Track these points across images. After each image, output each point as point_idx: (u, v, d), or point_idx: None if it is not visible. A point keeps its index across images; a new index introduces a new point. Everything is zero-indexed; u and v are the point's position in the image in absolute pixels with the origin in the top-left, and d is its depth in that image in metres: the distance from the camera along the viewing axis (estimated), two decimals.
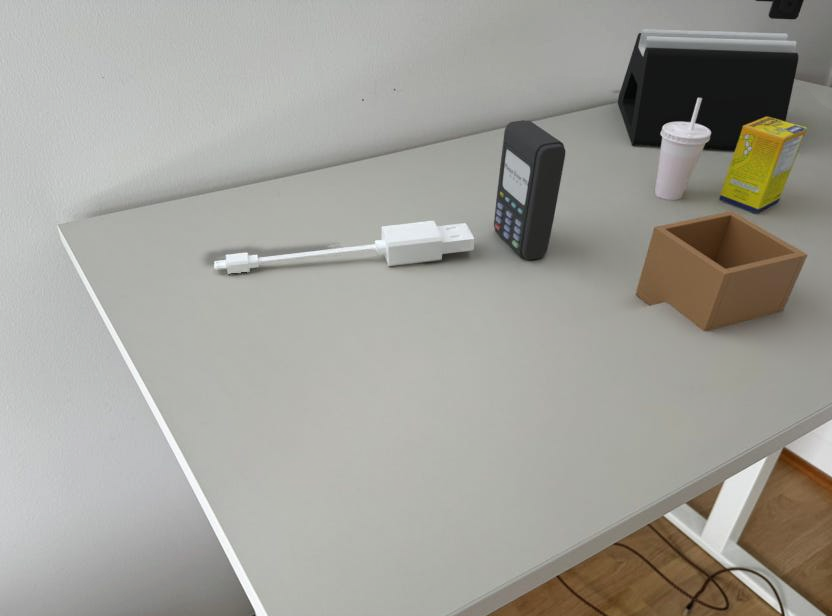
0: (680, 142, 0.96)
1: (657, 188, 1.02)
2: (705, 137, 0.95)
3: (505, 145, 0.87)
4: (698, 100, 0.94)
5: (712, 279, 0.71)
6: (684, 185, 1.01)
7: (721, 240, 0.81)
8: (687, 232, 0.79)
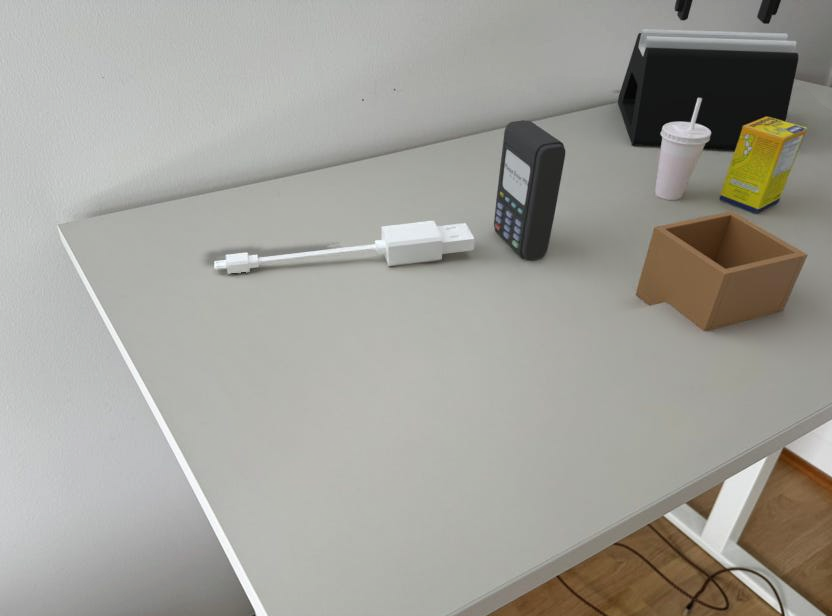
0: (680, 142, 0.96)
1: (657, 188, 1.02)
2: (705, 137, 0.95)
3: (505, 145, 0.87)
4: (698, 100, 0.94)
5: (712, 279, 0.71)
6: (684, 185, 1.01)
7: (721, 240, 0.81)
8: (687, 232, 0.79)
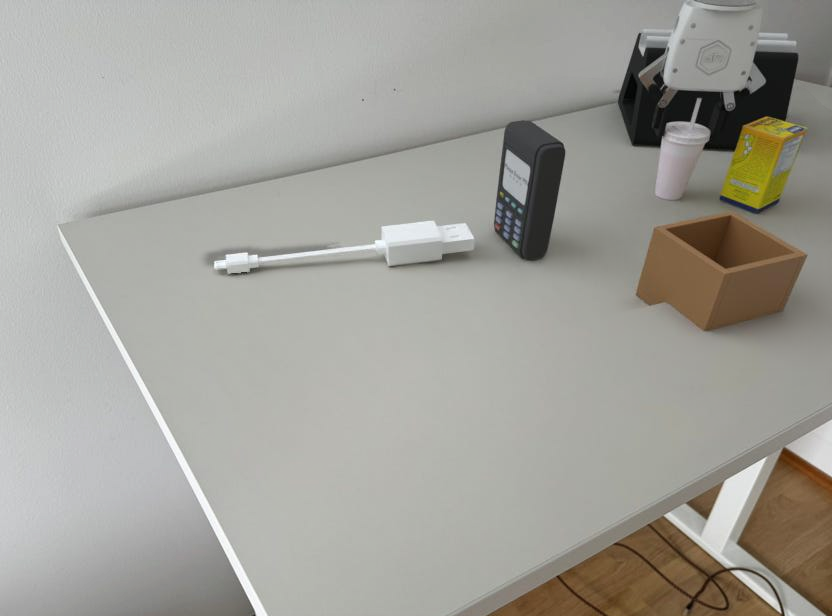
0: (680, 142, 0.96)
1: (657, 188, 1.02)
2: (705, 137, 0.95)
3: (505, 145, 0.87)
4: (698, 100, 0.94)
5: (712, 279, 0.71)
6: (684, 185, 1.01)
7: (721, 240, 0.81)
8: (687, 232, 0.79)
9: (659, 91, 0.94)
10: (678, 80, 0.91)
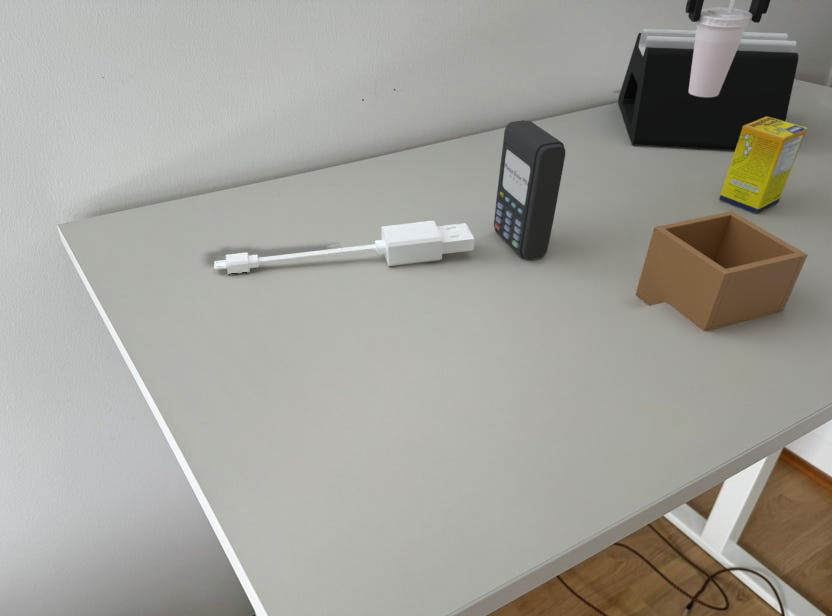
0: (718, 26, 0.86)
1: (691, 85, 0.93)
2: (746, 19, 0.85)
3: (505, 145, 0.87)
4: None
5: (712, 279, 0.71)
6: (722, 79, 0.91)
7: (721, 240, 0.81)
8: (687, 232, 0.79)
9: None
10: None
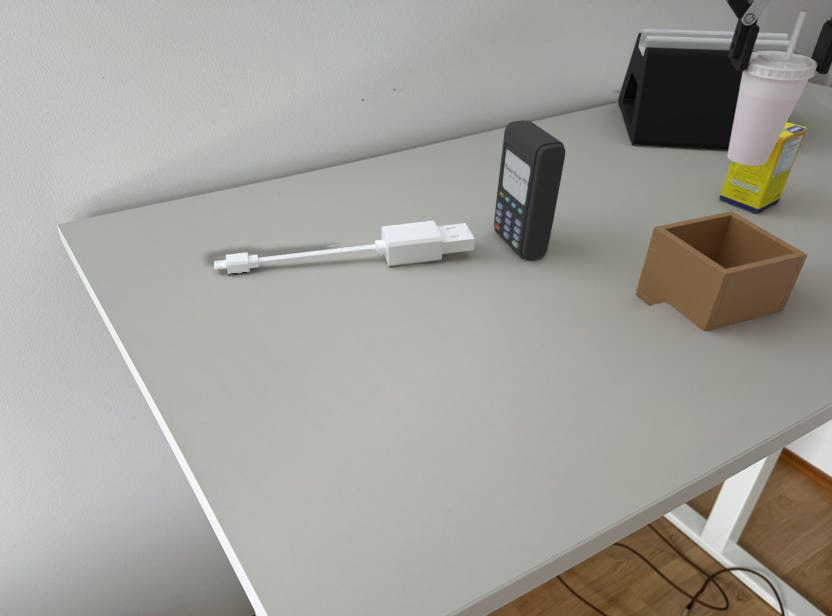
0: (773, 78, 0.65)
1: (732, 149, 0.72)
2: (810, 69, 0.65)
3: (505, 145, 0.87)
4: (801, 13, 0.64)
5: (712, 279, 0.71)
6: (773, 143, 0.70)
7: (721, 240, 0.81)
8: (687, 232, 0.79)
9: (744, 0, 0.64)
10: None
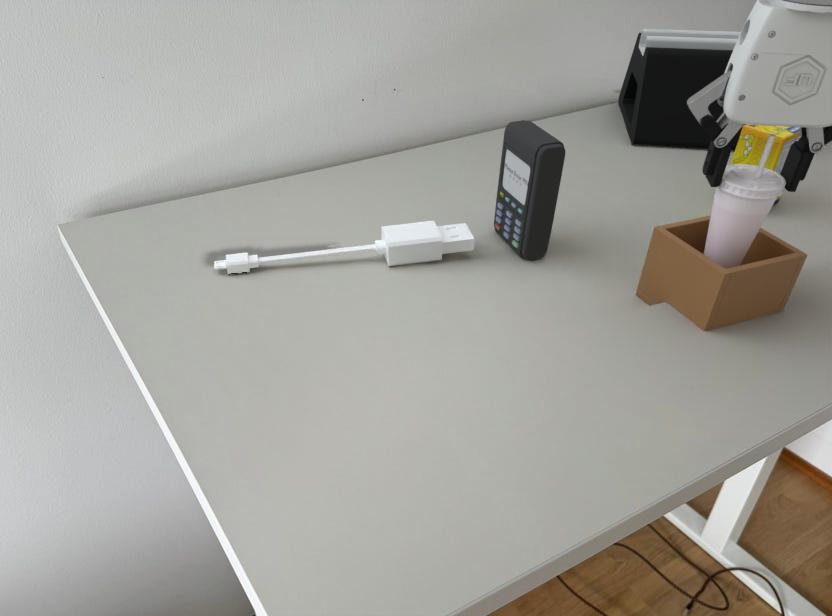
0: (744, 196, 0.69)
1: (707, 253, 0.75)
2: (779, 189, 0.68)
3: (505, 145, 0.87)
4: (770, 138, 0.67)
5: (712, 279, 0.71)
6: (745, 251, 0.74)
7: None
8: (687, 232, 0.79)
9: (716, 125, 0.67)
10: (746, 111, 0.64)
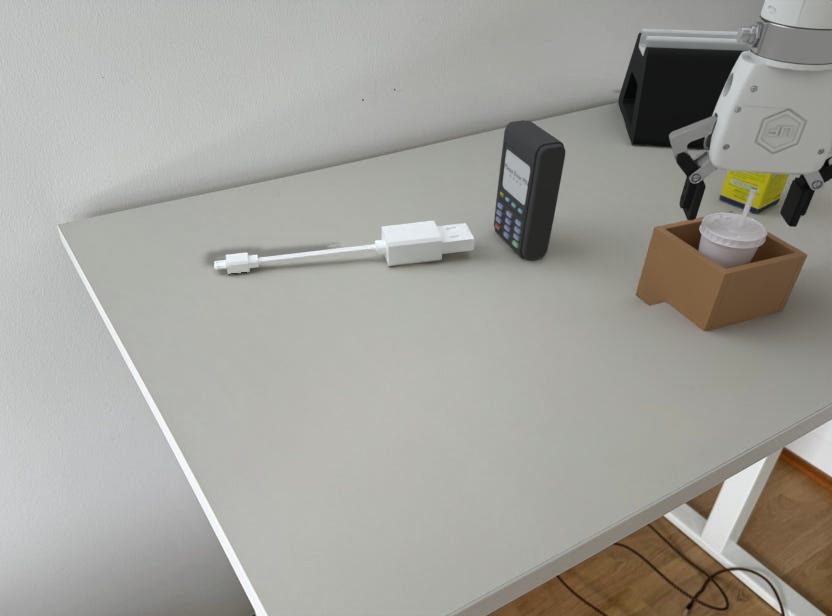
0: (727, 245, 0.72)
1: None
2: (761, 239, 0.72)
3: (505, 145, 0.87)
4: (752, 191, 0.71)
5: (712, 279, 0.71)
6: None
7: None
8: (687, 232, 0.79)
9: (691, 162, 0.70)
10: (730, 159, 0.67)
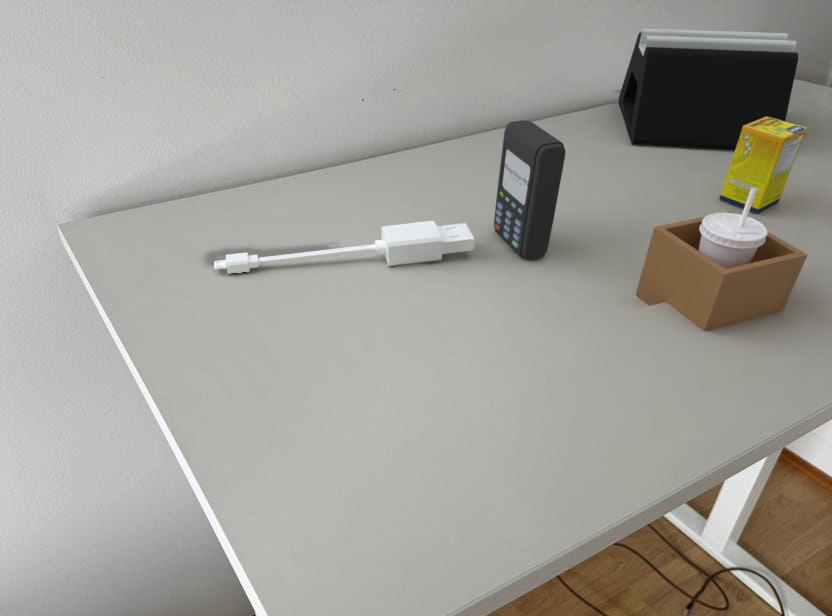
0: (728, 245, 0.72)
1: None
2: (761, 239, 0.72)
3: (505, 145, 0.87)
4: (752, 191, 0.71)
5: (712, 279, 0.71)
6: None
7: None
8: (687, 232, 0.79)
9: None
10: None
